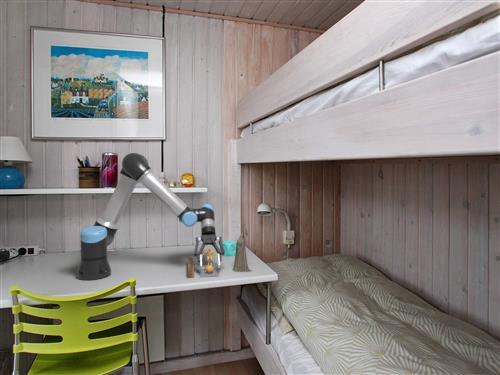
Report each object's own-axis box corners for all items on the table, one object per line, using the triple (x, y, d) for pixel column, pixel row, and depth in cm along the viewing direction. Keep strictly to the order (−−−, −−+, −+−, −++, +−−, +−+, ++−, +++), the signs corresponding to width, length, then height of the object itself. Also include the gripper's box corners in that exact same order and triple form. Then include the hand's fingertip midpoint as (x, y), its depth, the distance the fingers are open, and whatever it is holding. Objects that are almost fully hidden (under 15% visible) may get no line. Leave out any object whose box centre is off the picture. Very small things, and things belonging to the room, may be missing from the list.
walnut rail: (187, 278, 158) (187, 270, 158) (187, 262, 185) (187, 256, 185) (194, 277, 158) (194, 270, 158) (193, 262, 186) (193, 256, 186)
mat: (200, 277, 159) (200, 276, 159) (199, 270, 171) (199, 269, 171) (219, 276, 161) (219, 275, 161) (216, 269, 172) (216, 268, 172)
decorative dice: (237, 254, 204) (237, 241, 204) (228, 257, 198) (228, 243, 198) (228, 252, 209) (228, 240, 209) (219, 254, 203) (219, 242, 203)
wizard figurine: (251, 267, 176) (251, 221, 175) (252, 272, 168) (252, 223, 167) (232, 267, 176) (232, 221, 175) (232, 272, 168) (232, 223, 166)
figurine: (201, 274, 162) (200, 250, 162) (201, 270, 168) (201, 247, 168) (217, 274, 163) (217, 250, 163) (218, 270, 169) (218, 247, 169)
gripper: (226, 232, 182) (230, 269, 167) (188, 233, 178) (188, 271, 163) (228, 224, 177) (232, 262, 162) (188, 225, 173) (188, 264, 158)
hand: (210, 266), depth 162 cm, fingers closed on figurine, 8 cm apart
